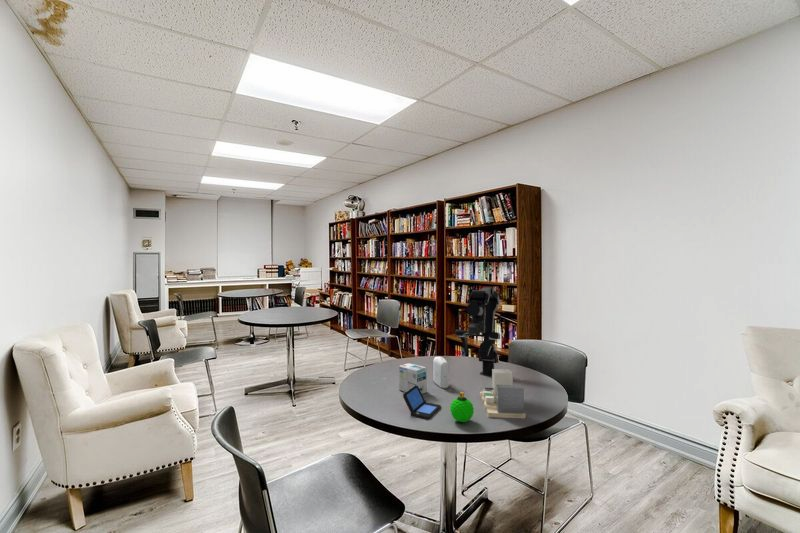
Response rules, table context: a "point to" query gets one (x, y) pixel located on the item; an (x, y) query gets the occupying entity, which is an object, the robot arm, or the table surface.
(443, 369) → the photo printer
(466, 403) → the ornament
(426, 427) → the table surface
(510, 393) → the grey square block
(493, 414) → the base
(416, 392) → the handheld game console
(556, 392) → the table surface
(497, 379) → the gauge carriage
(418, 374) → the light bulb box
